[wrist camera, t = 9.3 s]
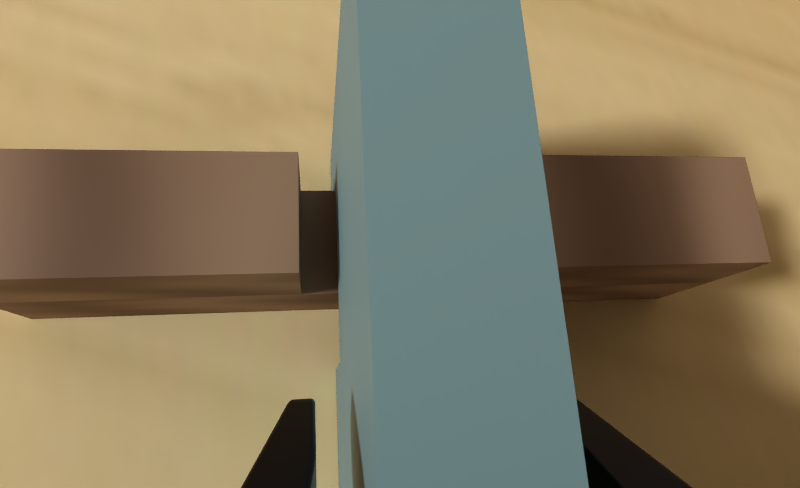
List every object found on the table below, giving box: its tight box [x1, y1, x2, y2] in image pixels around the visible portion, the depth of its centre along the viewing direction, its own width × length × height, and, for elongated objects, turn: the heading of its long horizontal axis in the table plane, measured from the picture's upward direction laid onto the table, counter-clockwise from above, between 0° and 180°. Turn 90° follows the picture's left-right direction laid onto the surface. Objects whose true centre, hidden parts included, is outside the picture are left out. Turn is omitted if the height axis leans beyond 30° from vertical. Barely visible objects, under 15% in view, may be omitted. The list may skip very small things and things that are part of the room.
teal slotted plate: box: [331, 0, 589, 488], centre depth 12 cm, size 12×2×11 cm, turn 3°
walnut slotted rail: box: [0, 149, 771, 319], centre depth 16 cm, size 20×3×5 cm, turn 93°
